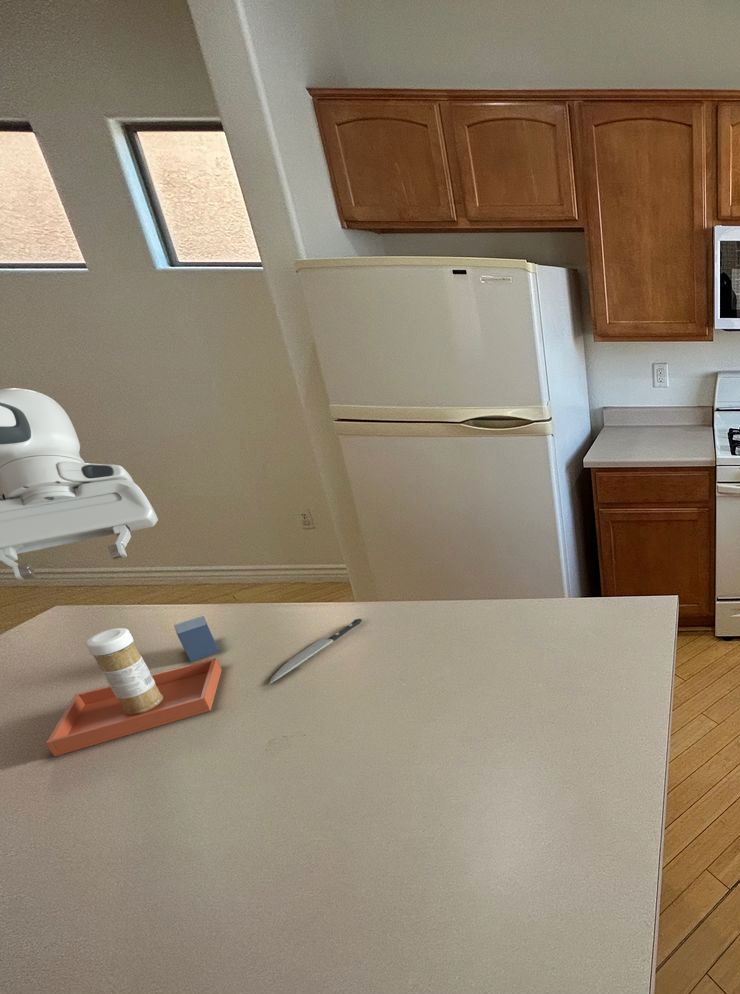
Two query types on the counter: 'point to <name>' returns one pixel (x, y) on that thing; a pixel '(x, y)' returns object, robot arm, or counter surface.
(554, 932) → the counter surface
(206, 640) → the blue block
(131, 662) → the sprinkles bottle
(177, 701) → the tray
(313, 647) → the chef's knife
